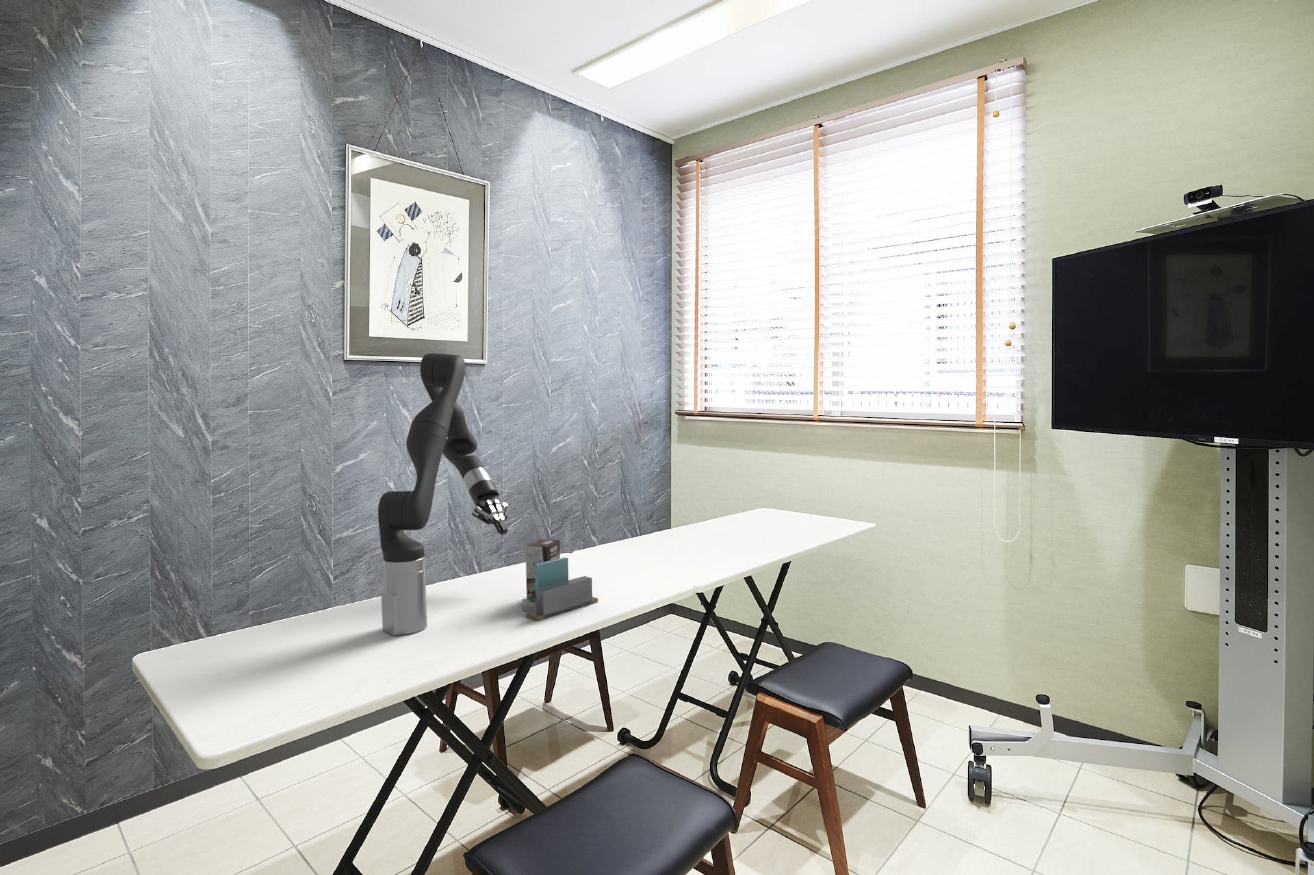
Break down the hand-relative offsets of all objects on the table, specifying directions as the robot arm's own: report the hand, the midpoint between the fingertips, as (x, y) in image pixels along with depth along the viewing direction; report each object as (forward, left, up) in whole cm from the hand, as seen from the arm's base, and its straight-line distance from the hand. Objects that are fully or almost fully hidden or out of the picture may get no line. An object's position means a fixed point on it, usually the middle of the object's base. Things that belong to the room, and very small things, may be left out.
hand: (504, 532), depth 185 cm
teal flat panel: (-1, -21, -15) cm, 26 cm away
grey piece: (+1, -22, -17) cm, 28 cm away
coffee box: (+2, -16, -17) cm, 23 cm away
